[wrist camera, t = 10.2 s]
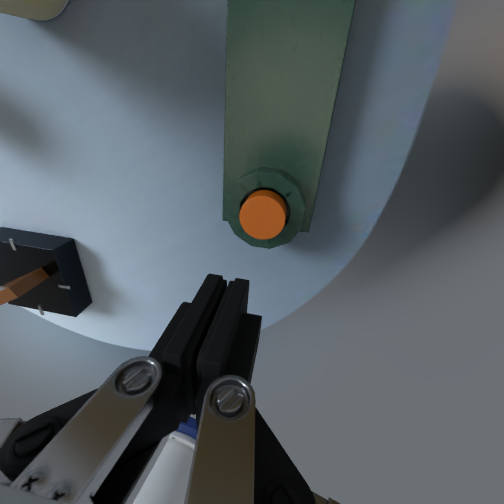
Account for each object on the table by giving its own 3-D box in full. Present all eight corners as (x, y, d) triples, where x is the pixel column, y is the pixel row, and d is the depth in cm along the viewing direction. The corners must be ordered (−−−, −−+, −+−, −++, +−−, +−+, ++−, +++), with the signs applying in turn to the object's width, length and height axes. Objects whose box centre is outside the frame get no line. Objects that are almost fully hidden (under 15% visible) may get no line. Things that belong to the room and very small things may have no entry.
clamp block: (97, 306, 36) (80, 322, 34) (26, 293, 38) (5, 307, 35) (76, 234, 31) (55, 246, 28) (-5, 221, 32) (-34, 232, 29)
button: (283, 233, 22) (281, 242, 21) (242, 227, 23) (238, 236, 21) (289, 192, 20) (288, 199, 19) (245, 187, 21) (240, 193, 19)
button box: (305, 235, 26) (306, 254, 22) (228, 223, 27) (216, 240, 23) (360, -39, 16) (375, -79, 13) (236, -42, 17) (219, -80, 14)
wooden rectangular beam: (41, 267, 30) (5, 288, 27) (50, 276, 31) (15, 299, 27) (7, 282, 33) (-30, 304, 29) (16, 291, 33) (-20, 313, 29)
